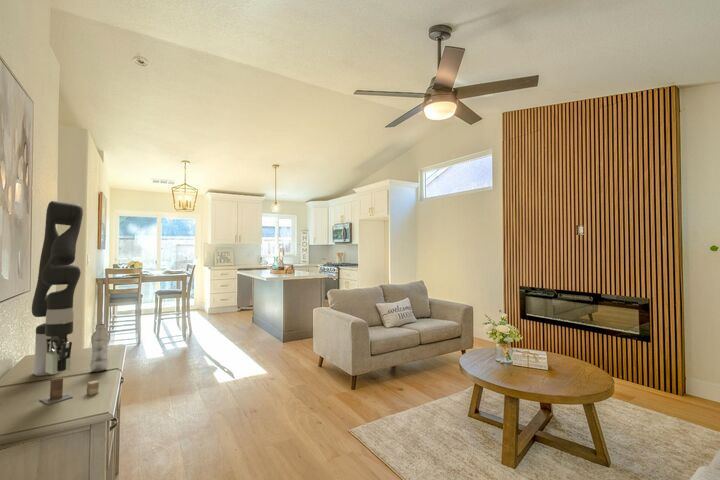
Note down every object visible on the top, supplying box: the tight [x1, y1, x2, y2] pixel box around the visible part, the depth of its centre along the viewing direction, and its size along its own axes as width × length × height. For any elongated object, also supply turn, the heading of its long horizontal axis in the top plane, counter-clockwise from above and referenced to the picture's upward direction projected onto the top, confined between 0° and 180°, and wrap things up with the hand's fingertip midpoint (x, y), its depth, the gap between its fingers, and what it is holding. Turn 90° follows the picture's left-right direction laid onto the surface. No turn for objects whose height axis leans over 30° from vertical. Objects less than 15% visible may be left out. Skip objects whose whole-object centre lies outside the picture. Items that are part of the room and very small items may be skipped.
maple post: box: [86, 380, 100, 396], centre depth 128 cm, size 3×3×4 cm
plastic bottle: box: [89, 323, 110, 373], centre depth 152 cm, size 6×7×20 cm
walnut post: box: [38, 376, 74, 406], centre depth 123 cm, size 7×7×7 cm
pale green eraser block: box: [45, 350, 72, 375], centre depth 123 cm, size 5×5×7 cm
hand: (57, 369), depth 123 cm, fingers closed on pale green eraser block, 5 cm apart
